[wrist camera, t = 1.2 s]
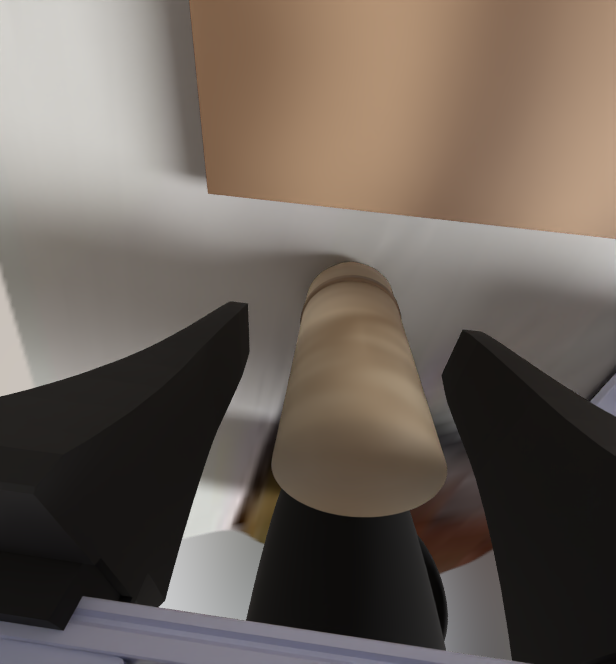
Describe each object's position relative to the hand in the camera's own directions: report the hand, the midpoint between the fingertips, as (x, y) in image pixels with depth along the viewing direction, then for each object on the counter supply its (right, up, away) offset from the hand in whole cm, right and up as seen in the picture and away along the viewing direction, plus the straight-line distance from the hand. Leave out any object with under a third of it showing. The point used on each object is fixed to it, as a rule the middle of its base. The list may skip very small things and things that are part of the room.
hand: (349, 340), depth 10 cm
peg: (0, +2, +3) cm, 4 cm away
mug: (+2, -10, +11) cm, 15 cm away
